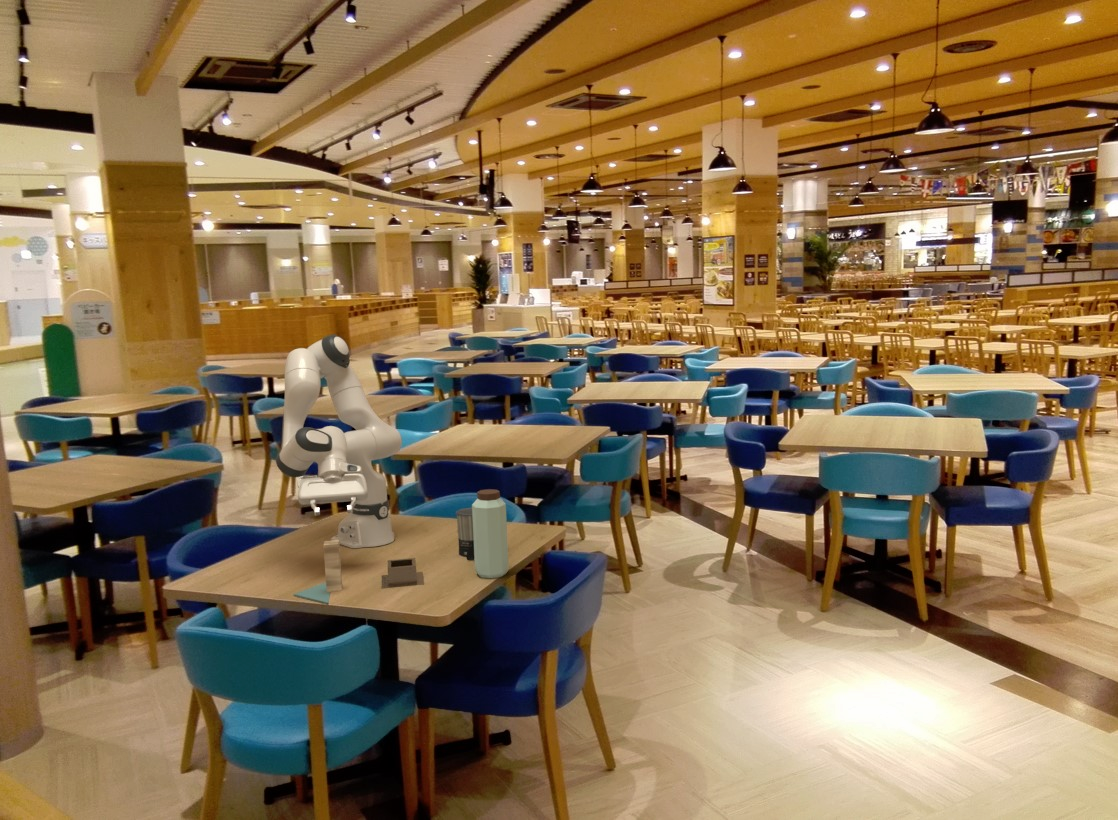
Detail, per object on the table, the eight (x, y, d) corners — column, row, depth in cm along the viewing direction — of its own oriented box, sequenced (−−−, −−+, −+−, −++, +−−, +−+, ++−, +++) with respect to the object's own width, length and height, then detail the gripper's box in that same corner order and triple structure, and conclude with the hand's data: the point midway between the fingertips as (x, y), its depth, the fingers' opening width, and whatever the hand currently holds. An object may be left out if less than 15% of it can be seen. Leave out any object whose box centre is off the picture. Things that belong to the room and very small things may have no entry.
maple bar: (327, 588, 249) (324, 541, 247) (342, 587, 249) (339, 540, 247) (326, 593, 245) (323, 545, 243) (341, 591, 245) (338, 543, 243)
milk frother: (454, 560, 273) (452, 514, 271) (466, 545, 288) (463, 502, 286) (499, 560, 271) (497, 514, 269) (508, 546, 287) (506, 502, 285)
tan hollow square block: (381, 578, 257) (380, 559, 257) (422, 574, 260) (421, 555, 259) (381, 591, 246) (380, 571, 245) (424, 587, 248) (423, 567, 247)
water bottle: (477, 569, 263) (473, 488, 260) (510, 568, 263) (506, 487, 260) (473, 579, 253) (469, 496, 250) (507, 579, 253) (503, 495, 250)
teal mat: (293, 595, 245) (293, 594, 245) (337, 579, 258) (337, 577, 258) (332, 605, 236) (332, 603, 236) (375, 588, 249) (375, 586, 249)
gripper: (296, 470, 260) (295, 510, 252) (366, 466, 264) (367, 504, 256) (298, 482, 265) (298, 521, 257) (367, 477, 269) (368, 516, 261)
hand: (333, 513), depth 256 cm, fingers open, 8 cm apart
